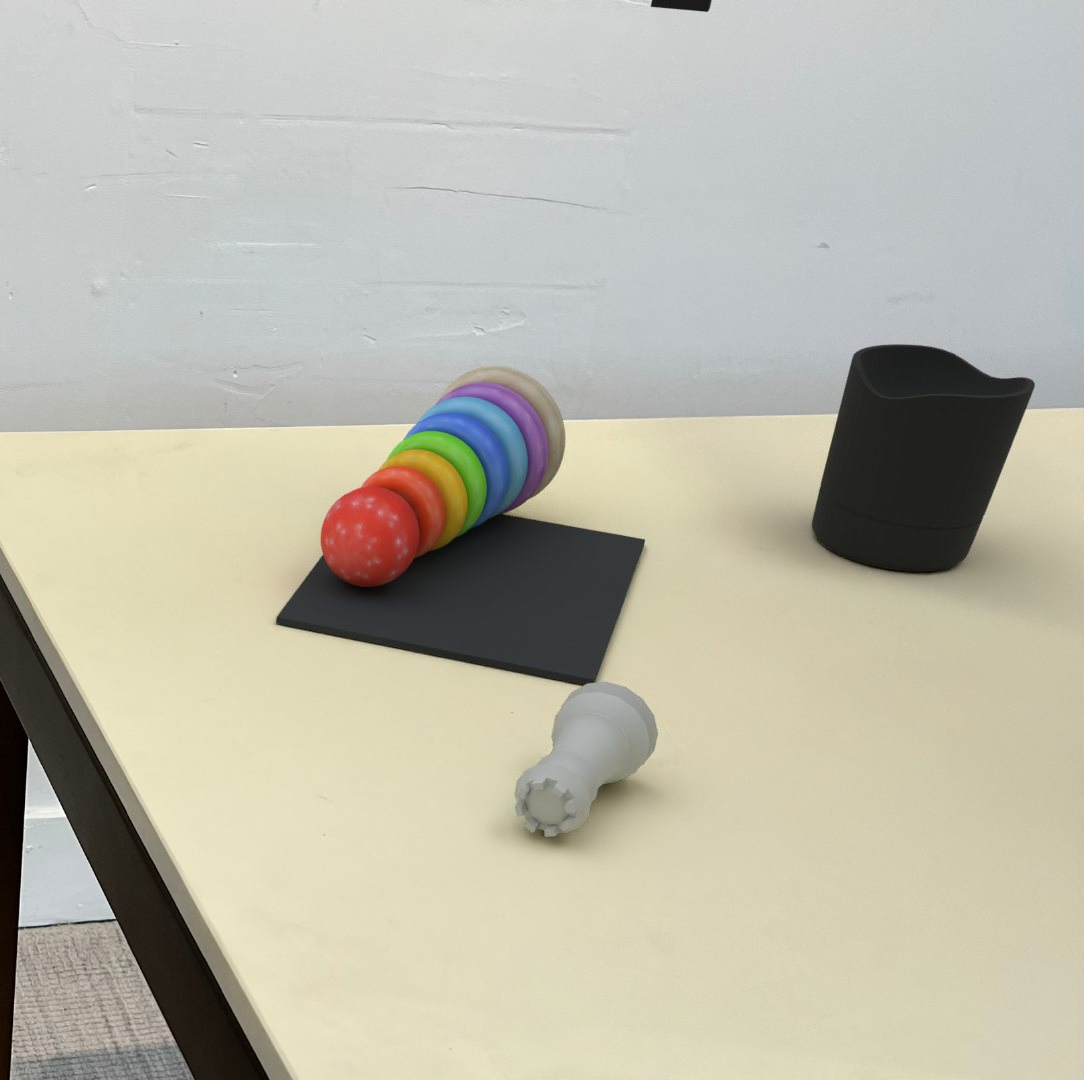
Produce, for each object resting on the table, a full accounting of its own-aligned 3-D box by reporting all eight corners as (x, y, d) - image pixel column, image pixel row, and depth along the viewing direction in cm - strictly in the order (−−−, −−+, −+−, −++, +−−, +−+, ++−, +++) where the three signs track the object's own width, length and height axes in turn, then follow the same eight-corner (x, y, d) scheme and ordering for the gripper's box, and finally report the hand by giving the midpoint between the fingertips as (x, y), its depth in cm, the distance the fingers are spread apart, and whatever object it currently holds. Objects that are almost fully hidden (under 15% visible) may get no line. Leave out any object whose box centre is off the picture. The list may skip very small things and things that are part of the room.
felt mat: (643, 545, 104) (645, 539, 104) (592, 687, 89) (594, 679, 89) (369, 496, 108) (370, 490, 108) (275, 623, 93) (276, 616, 93)
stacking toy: (503, 331, 102) (348, 444, 90) (599, 437, 102) (458, 564, 90) (414, 425, 108) (258, 543, 96) (505, 525, 109) (361, 655, 97)
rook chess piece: (612, 786, 82) (546, 875, 77) (542, 716, 82) (471, 800, 77) (683, 730, 79) (619, 819, 74) (610, 657, 79) (540, 741, 74)
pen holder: (954, 524, 109) (1012, 354, 103) (989, 585, 102) (1054, 405, 96) (792, 507, 110) (840, 337, 105) (815, 566, 103) (868, 386, 97)
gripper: (729, -617, 81) (616, -14, 95) (707, -667, 71) (585, 16, 85) (907, -617, 80) (766, -1, 93) (911, -667, 69) (753, 31, 83)
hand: (680, 7), depth 89 cm, fingers closed
